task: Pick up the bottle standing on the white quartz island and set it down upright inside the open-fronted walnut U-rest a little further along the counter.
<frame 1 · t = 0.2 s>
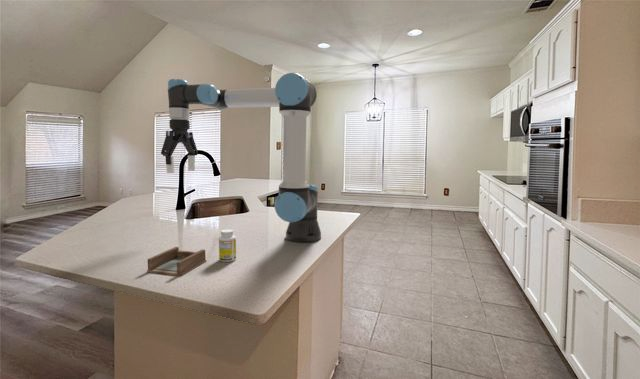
hand: (181, 171, 136), 28 cm above the countertop, fingers open, 13 cm apart
u rest: (178, 266, 105), on the countertop
supplement bottle: (227, 260, 112), on the countertop
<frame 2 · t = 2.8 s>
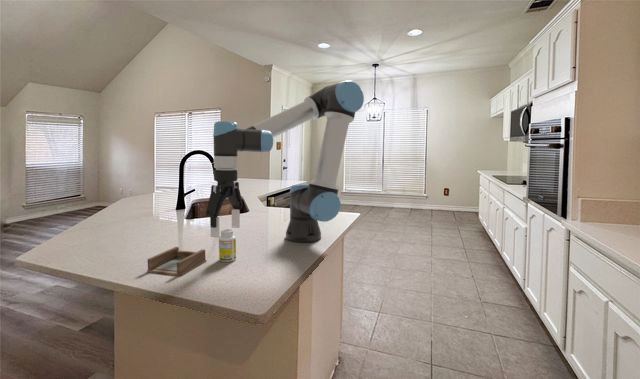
hand: (225, 232, 111), 10 cm above the countertop, fingers open, 13 cm apart
nothing on the countertop moved.
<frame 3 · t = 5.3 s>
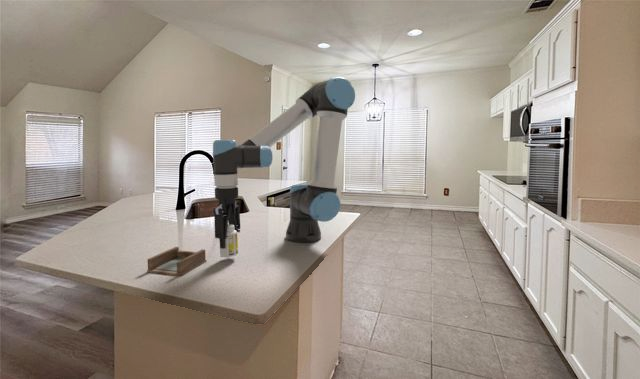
hand: (229, 253, 112), 2 cm above the countertop, fingers closed on supplement bottle, 6 cm apart
supplement bottle: (229, 255, 112), point 2 cm above the countertop, touching gripper
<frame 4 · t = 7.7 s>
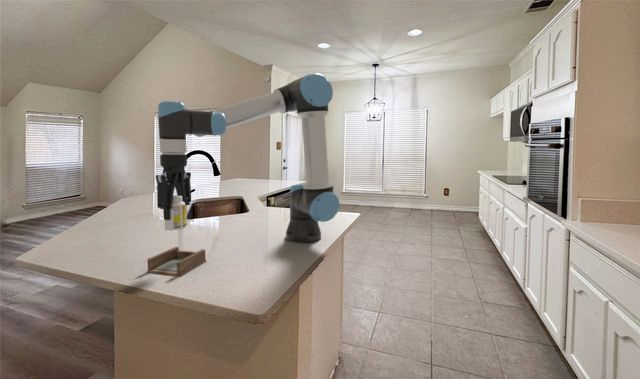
hand: (176, 227, 104), 13 cm above the countertop, fingers closed on supplement bottle, 6 cm apart
supplement bottle: (176, 228, 104), point 12 cm above the countertop, touching gripper
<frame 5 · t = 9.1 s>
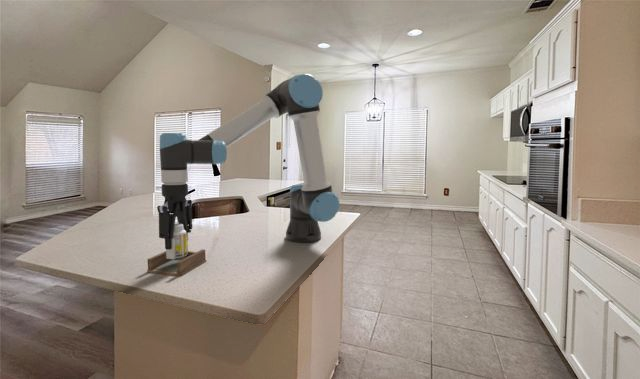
hand: (177, 255, 105), 4 cm above the countertop, fingers closed on supplement bottle, 6 cm apart
supplement bottle: (177, 256, 105), point 3 cm above the countertop, touching gripper
when the fingers open (3 cm above the countertop, at t = 10.1 s): supplement bottle drops 2 cm, resting on u rest.
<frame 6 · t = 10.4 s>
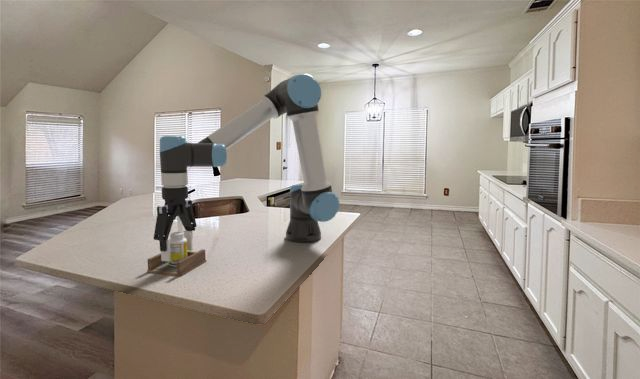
hand: (177, 255, 105), 4 cm above the countertop, fingers open, 10 cm apart
supplement bottle: (178, 264, 105), point 1 cm above the countertop, touching u rest
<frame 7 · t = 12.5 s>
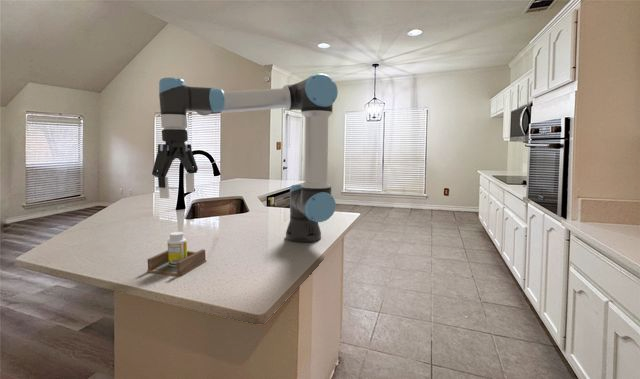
hand: (178, 194, 108), 22 cm above the countertop, fingers open, 13 cm apart
nothing on the countertop moved.
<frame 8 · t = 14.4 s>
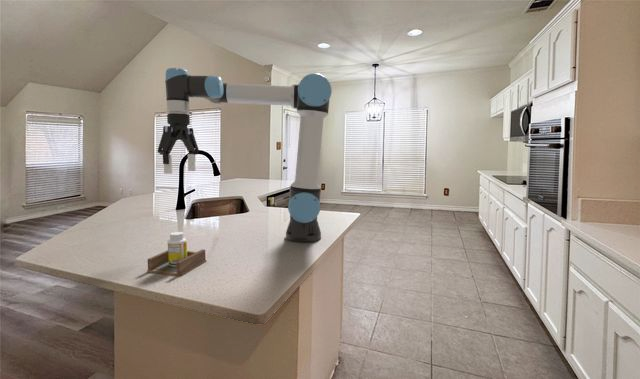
hand: (180, 172, 122), 29 cm above the countertop, fingers open, 13 cm apart
nothing on the countertop moved.
at the end: supplement bottle inside the target area on the u rest (0.5 cm from its centre), point 0.6 cm above the u rest's base; supplement bottle tilted 0°; the gripper is holding nothing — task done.
